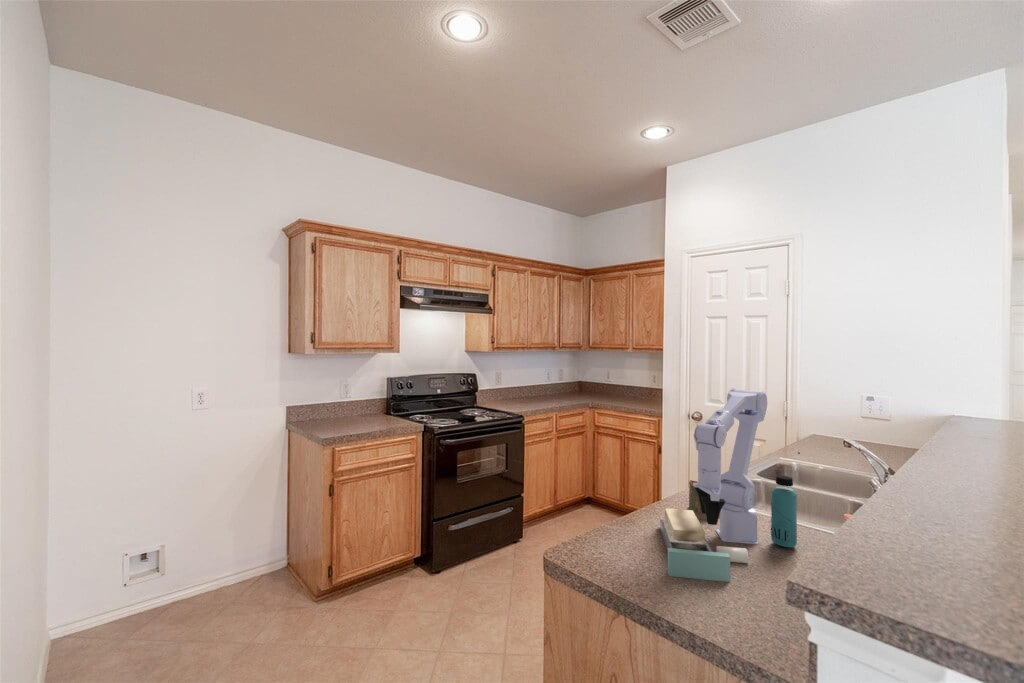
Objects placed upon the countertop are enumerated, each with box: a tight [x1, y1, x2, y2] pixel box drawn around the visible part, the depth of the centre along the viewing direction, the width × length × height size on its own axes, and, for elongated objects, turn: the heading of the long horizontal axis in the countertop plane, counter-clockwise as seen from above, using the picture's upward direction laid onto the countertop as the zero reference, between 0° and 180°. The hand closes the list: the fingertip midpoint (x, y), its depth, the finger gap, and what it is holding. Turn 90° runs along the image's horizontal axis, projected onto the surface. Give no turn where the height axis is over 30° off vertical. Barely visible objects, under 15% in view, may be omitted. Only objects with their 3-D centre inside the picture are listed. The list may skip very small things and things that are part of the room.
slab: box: [664, 508, 706, 541], centre depth 130 cm, size 8×16×2 cm, turn 169°
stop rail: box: [667, 548, 731, 583], centre depth 111 cm, size 14×2×6 cm, turn 79°
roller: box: [715, 545, 749, 564], centre depth 119 cm, size 7×4×4 cm, turn 79°
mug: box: [685, 479, 744, 520], centre depth 151 cm, size 12×18×12 cm, turn 73°
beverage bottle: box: [770, 475, 798, 548], centre depth 127 cm, size 6×7×20 cm
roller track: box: [659, 519, 713, 552], centre depth 125 cm, size 11×27×4 cm, turn 169°
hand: (708, 518), depth 123 cm, fingers open, 7 cm apart
